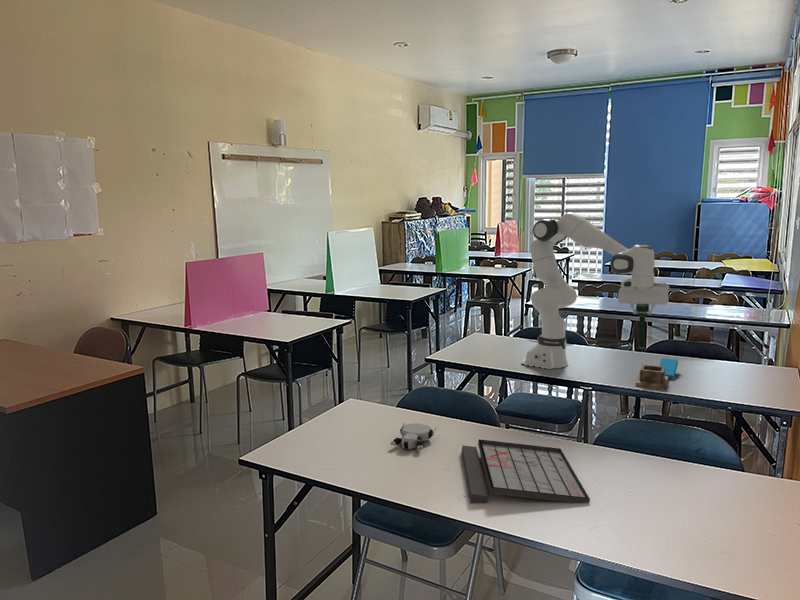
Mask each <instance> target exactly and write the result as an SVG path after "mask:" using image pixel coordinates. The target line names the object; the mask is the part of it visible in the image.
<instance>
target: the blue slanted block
mask: <svg viewBox="0 0 800 600" xmlns="http://www.w3.org/2000/svg"><path fill="white" fill-rule="evenodd" d="M678 364H679V359H675V358H665V357H661V358H660V363H659V364H658V366H663V367H665V376H668V380H672V379H673V380H674V378H675V375H676V371H677V368H678Z"/></svg>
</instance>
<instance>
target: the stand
mask: <svg viewBox="0 0 800 600" xmlns="http://www.w3.org/2000/svg"><path fill="white" fill-rule="evenodd" d="M668 382H669V379H668V376H665V367H663V366H659V365H651V364H641V366H640V369H639V373H638V376H637V379H636V380H635V387H642V388H651V389H658V390H659V389H661V390H667V387H668Z"/></svg>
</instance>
